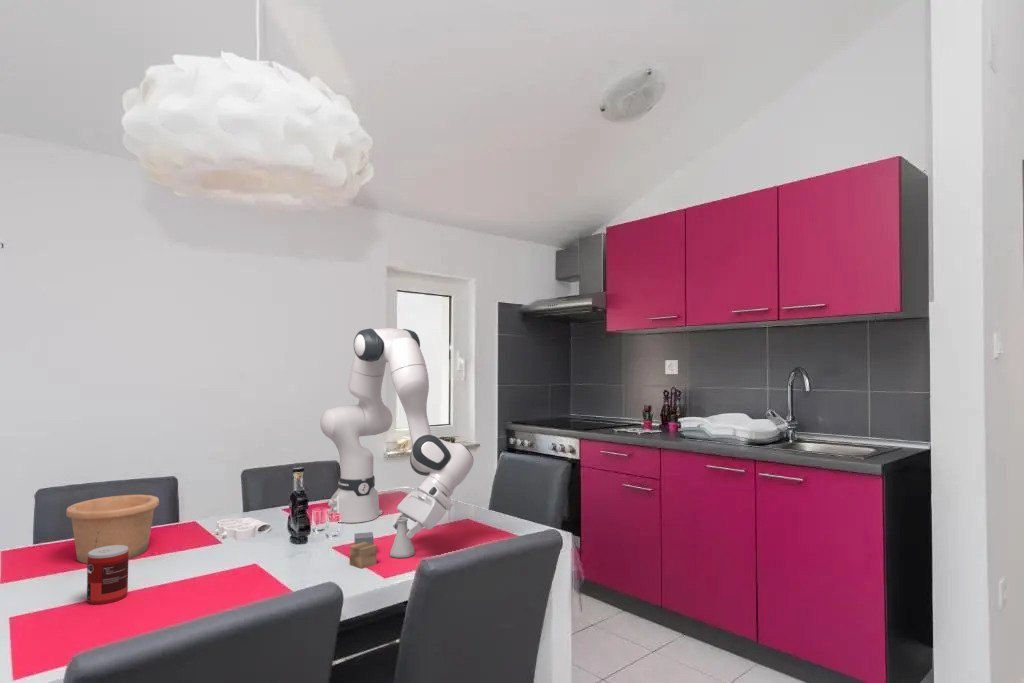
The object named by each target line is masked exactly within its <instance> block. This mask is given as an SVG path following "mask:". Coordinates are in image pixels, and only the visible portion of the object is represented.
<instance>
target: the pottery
mask: <svg viewBox="0 0 1024 683" xmlns="http://www.w3.org/2000/svg"><path fill="white" fill-rule="evenodd" d="M159 506H160V499H159V497H158V496H155V495H151V494H149V495H148V494H126V495H125V494H122V495H112V496H111V495H110V496H105V497H98V498H93V499H88V500H84V501H79V502H76V503H74V504H72V505H70V506H68V507H67V508H66V511H65V514H66V515H65V516H66V517H68V518H69V519H71V526H72V531H73V532H72V533H73V540H74V546H75V554H76V560H77V562H80V563H81V564H87V560H88V552H90V551H91V550H94V549H96V548H100V547H105V546H112V545H124V546H127V547H128V550H129V559H132V558H136V557H139V556H140V555H142V554H144V553H146V552H147V551H148V550H149V542H150V538H151V537H150V536H151V532H152V525H153V519H154V513H155V509H156V508H157V507H159ZM129 559H128V560H129Z"/></svg>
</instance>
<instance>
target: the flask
mask: <svg viewBox="0 0 1024 683" xmlns="http://www.w3.org/2000/svg"><path fill="white" fill-rule="evenodd" d="M396 520H397V522H398V528H397V530H396V534H395V536H394V541H393V543H392V546H391V549H390V553H389V557H392V558H396V559H398V558H399V559H400V558H401V559H402V558H410V557H412V556H414V555H415V554H416V549H415V547H414V545H413V542H412V540H411V539H412V538H411V539H410V538H408V537H407V536H406V535H405V533H406V532H407V530H408V529H409V528H408V520H409V518H405V517H402V518H398V517H397V518H396Z"/></svg>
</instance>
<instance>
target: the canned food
mask: <svg viewBox="0 0 1024 683" xmlns="http://www.w3.org/2000/svg"><path fill="white" fill-rule="evenodd" d="M86 564H87V568H86V569H87V571H86V572H87V573H86V574H87V575H86V579H87V580H86V599H87V603H89V604H91V605H106V604H111V603H115V602H118V601H120V600H122V599H124V598H125V597H126V596H127V594H128V591H129V550H128V547H127V546H124V545H112V546H105V547H100V548H96V549H94V550H91V551H90V552H88V560H87V563H86Z"/></svg>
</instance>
